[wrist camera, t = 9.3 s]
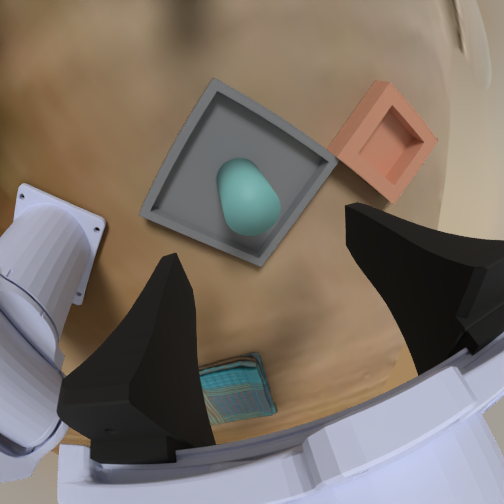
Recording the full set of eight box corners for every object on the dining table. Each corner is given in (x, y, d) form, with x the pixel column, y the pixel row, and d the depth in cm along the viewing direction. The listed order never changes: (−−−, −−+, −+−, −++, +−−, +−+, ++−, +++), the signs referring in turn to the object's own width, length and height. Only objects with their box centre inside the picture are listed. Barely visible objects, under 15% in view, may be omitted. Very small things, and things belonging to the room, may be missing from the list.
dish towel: (277, 402, 41) (281, 415, 39) (146, 426, 40) (146, 439, 38) (257, 346, 31) (262, 364, 29) (87, 380, 30) (84, 395, 28)
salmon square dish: (381, 195, 22) (393, 204, 21) (326, 150, 19) (336, 157, 18) (424, 134, 20) (437, 140, 18) (375, 80, 17) (389, 82, 15)
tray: (257, 256, 24) (261, 267, 22) (141, 205, 19) (138, 215, 18) (330, 154, 20) (339, 159, 18) (212, 78, 15) (214, 77, 14)
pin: (245, 206, 20) (260, 243, 16) (207, 187, 19) (213, 222, 15) (268, 171, 19) (291, 200, 15) (231, 150, 18) (243, 173, 14)
